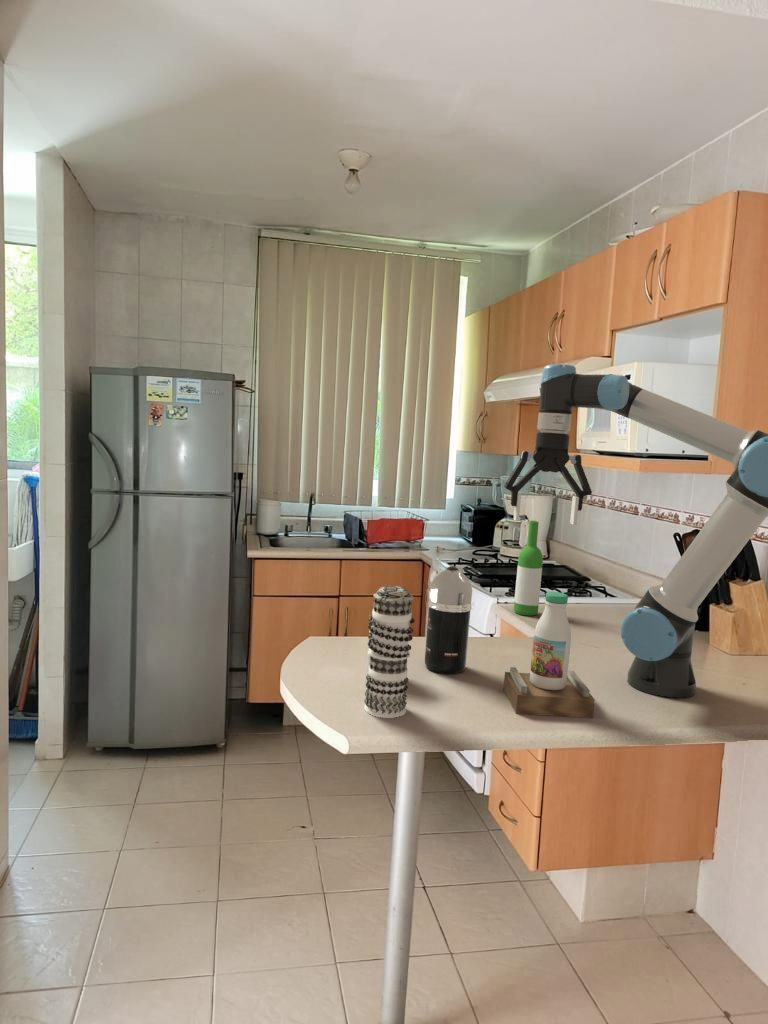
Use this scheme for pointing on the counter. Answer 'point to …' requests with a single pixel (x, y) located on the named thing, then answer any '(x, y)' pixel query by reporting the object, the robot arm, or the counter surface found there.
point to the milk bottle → (551, 645)
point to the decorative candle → (389, 652)
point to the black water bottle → (448, 622)
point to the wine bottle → (529, 575)
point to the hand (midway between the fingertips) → (544, 522)
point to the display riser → (548, 696)
